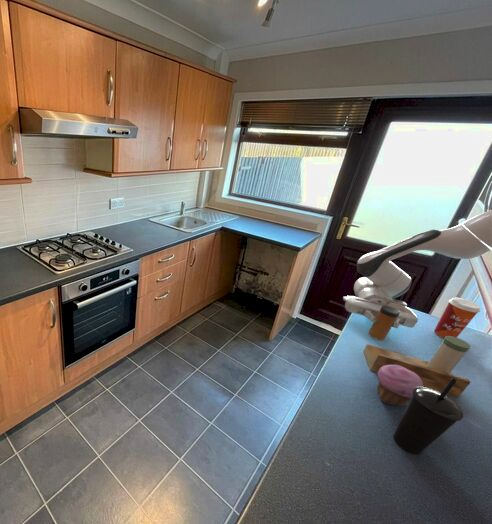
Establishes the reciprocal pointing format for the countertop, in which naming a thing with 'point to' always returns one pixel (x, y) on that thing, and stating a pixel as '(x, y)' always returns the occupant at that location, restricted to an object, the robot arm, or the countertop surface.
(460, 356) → the sage jar
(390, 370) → the cupcake
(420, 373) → the spice rack
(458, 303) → the paper cup
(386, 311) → the amber jar
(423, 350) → the countertop surface
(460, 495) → the countertop surface
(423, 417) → the drinking cup
